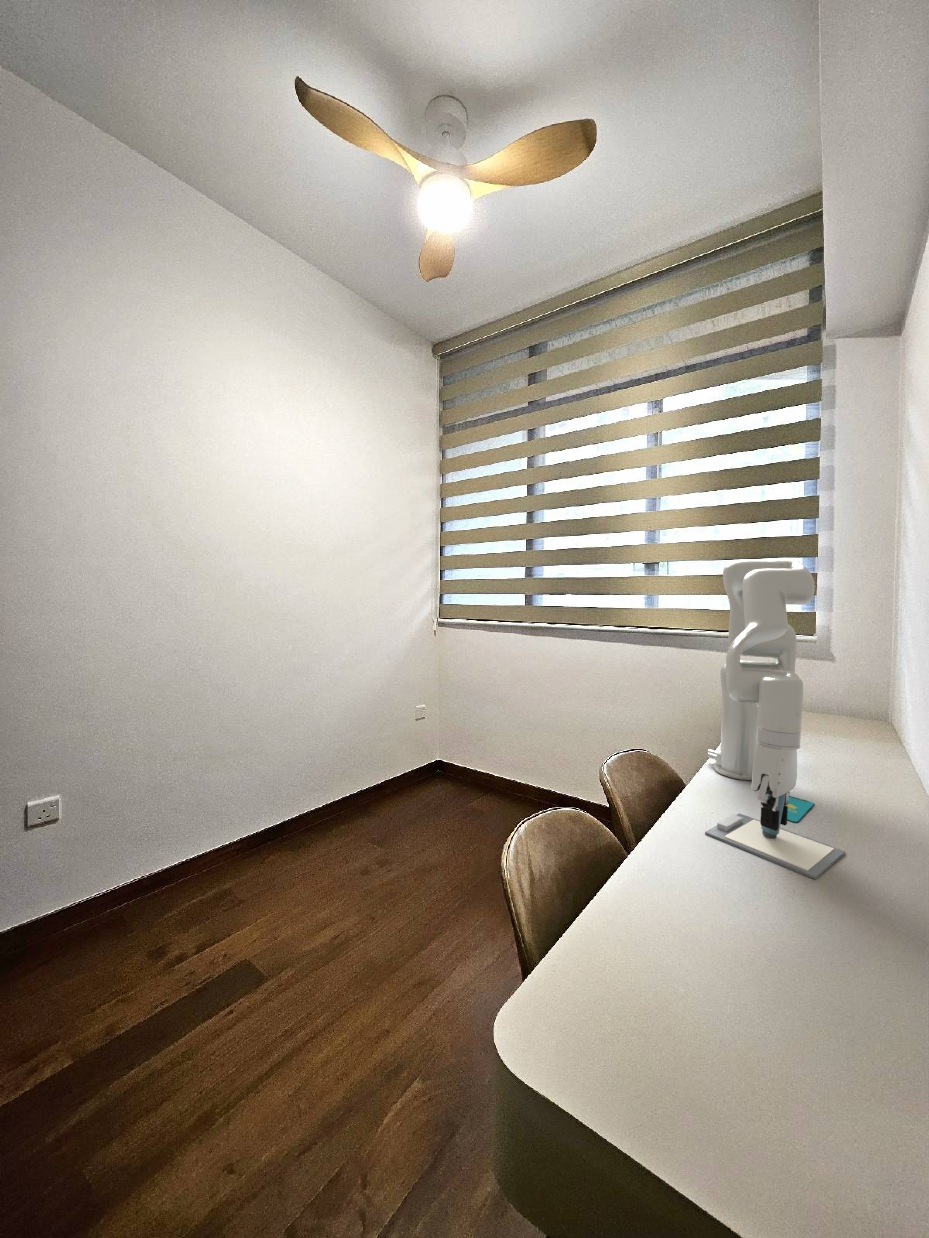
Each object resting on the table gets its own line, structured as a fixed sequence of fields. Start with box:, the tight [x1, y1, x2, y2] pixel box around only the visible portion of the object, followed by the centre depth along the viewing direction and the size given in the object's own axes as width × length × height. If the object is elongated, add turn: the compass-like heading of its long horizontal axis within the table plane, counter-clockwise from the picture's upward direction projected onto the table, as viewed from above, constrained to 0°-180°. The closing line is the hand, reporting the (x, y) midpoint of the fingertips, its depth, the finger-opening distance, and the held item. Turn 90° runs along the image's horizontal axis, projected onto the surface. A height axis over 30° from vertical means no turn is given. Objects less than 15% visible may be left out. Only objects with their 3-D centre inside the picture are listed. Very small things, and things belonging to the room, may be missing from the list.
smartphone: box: [785, 795, 815, 824], centre depth 118 cm, size 7×1×15 cm
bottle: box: [761, 791, 786, 838], centre depth 102 cm, size 3×3×11 cm
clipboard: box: [704, 812, 846, 880], centre depth 101 cm, size 20×15×2 cm
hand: (773, 824), depth 102 cm, fingers closed on bottle, 3 cm apart
